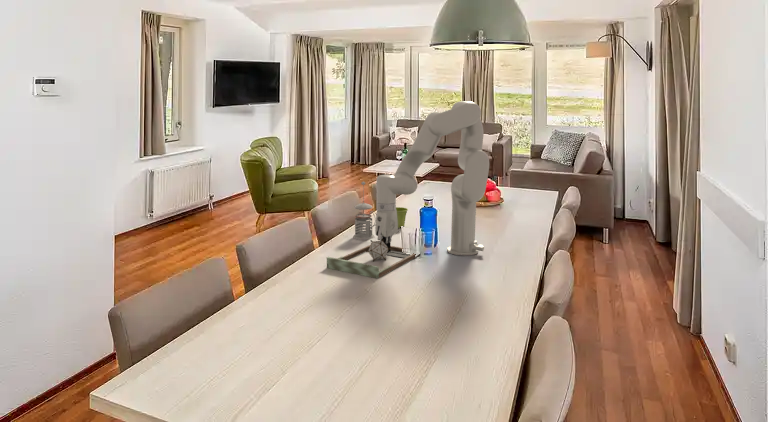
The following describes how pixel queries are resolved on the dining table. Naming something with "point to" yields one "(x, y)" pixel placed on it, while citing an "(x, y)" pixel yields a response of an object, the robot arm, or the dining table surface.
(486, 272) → the dining table surface
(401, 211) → the plant pot
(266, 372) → the dining table surface
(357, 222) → the french press
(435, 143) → the robot arm
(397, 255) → the shallow open box
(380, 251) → the game die
